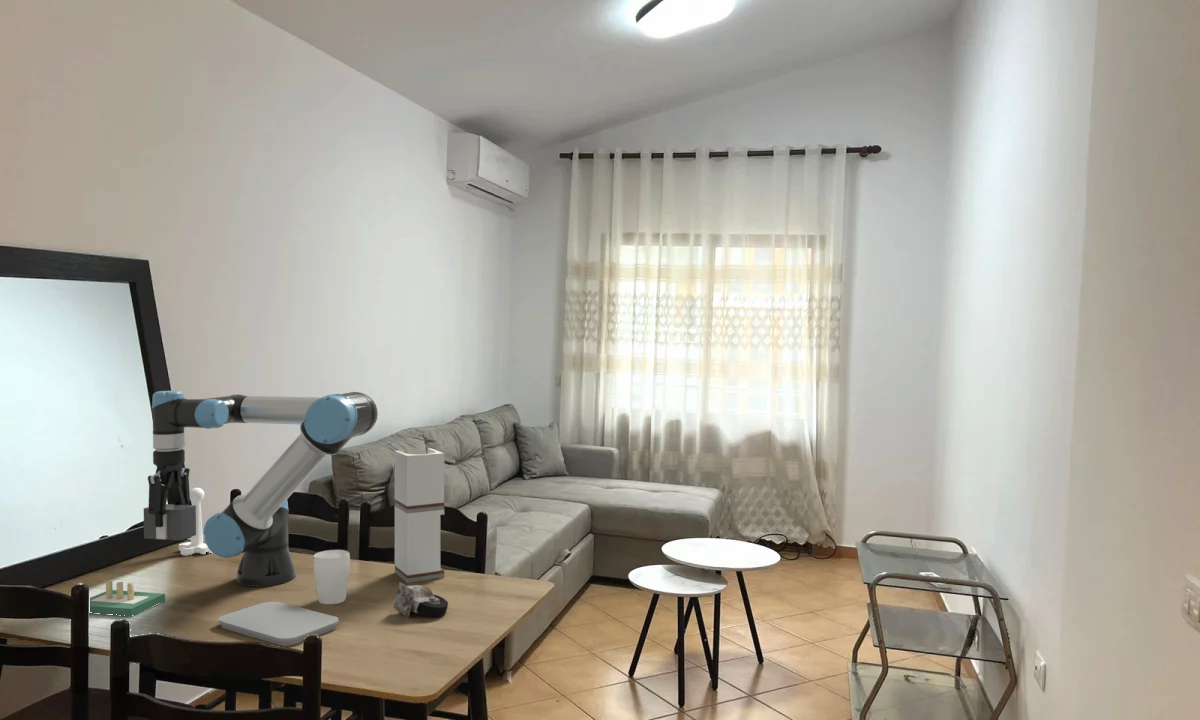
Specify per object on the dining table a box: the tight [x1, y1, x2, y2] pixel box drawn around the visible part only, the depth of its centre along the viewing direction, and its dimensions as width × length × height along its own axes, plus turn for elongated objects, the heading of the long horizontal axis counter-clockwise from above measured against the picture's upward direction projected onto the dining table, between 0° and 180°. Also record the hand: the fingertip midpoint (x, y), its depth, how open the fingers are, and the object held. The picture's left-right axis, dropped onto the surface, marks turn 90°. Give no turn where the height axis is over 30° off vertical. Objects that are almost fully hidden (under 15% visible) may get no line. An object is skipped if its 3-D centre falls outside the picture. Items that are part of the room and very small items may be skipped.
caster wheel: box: [392, 581, 449, 619], centre depth 210 cm, size 7×11×10 cm
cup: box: [312, 549, 351, 605], centre depth 219 cm, size 9×9×12 cm
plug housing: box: [143, 503, 196, 541], centre depth 228 cm, size 11×6×8 cm, turn 80°
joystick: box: [178, 487, 213, 557], centre depth 264 cm, size 11×8×20 cm
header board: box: [89, 580, 166, 617], centre depth 213 cm, size 16×12×6 cm
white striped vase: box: [394, 447, 445, 584], centre depth 242 cm, size 11×11×35 cm
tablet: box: [217, 601, 340, 647], centre depth 200 cm, size 16×26×2 cm, turn 59°
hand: (170, 535), depth 228 cm, fingers closed on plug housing, 6 cm apart
